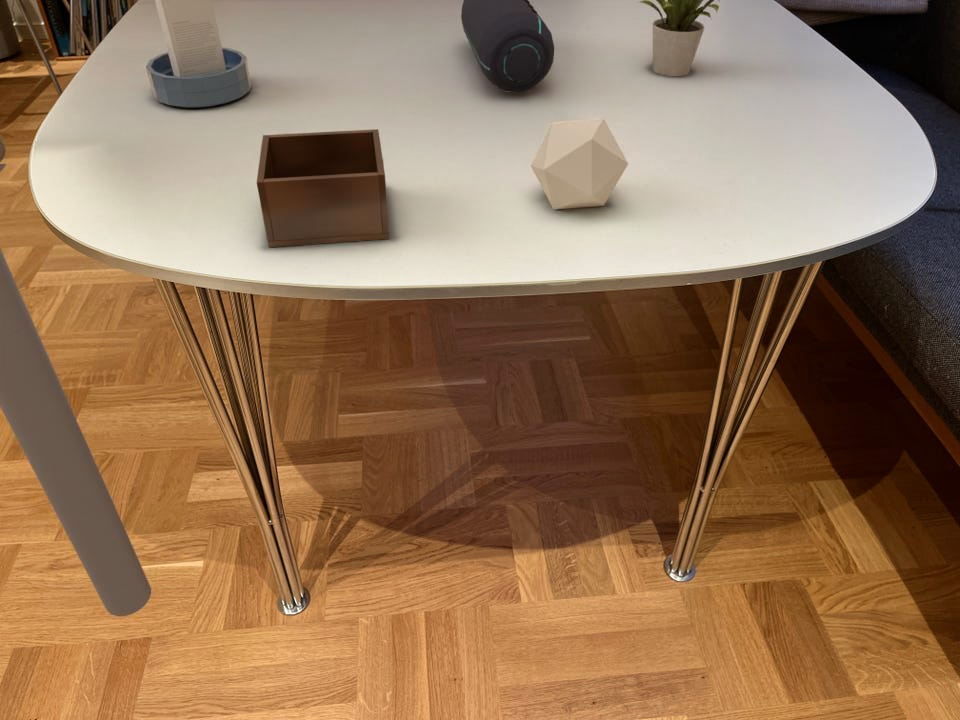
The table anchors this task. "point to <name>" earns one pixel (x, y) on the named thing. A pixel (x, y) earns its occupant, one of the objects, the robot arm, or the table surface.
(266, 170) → the holder
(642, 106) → the table surface
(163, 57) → the bowl
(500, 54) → the portable speaker
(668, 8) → the house plant
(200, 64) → the cosmetic box
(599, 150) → the die
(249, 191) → the table surface
